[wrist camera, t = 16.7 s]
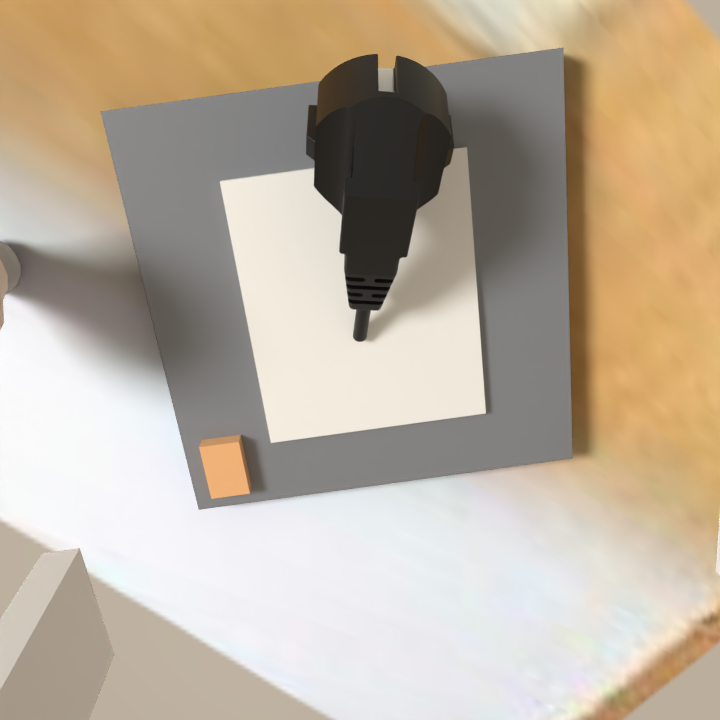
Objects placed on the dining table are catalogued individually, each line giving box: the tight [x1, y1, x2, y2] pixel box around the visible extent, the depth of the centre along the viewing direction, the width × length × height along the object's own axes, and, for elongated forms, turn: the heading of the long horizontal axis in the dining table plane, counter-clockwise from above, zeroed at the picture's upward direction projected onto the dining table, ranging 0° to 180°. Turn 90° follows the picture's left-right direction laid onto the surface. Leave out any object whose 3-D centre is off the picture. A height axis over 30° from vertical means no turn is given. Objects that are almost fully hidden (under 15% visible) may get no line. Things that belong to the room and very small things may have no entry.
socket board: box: [101, 48, 573, 510], centre depth 33 cm, size 20×20×2 cm
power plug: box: [306, 54, 454, 342], centre depth 29 cm, size 6×8×12 cm
